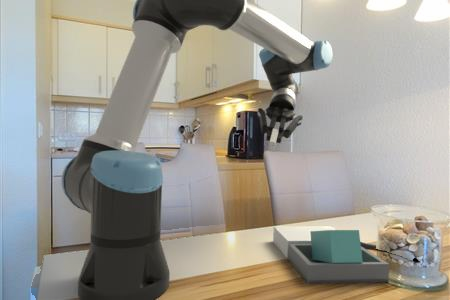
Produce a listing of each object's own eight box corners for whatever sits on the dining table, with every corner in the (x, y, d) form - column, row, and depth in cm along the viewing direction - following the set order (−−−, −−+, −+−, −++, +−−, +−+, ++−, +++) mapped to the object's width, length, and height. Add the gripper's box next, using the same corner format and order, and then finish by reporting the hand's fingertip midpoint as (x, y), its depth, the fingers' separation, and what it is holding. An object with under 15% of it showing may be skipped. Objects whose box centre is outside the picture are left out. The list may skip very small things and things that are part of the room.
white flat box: (287, 258, 71) (287, 240, 71) (273, 241, 83) (273, 226, 83) (354, 257, 73) (355, 240, 73) (331, 241, 85) (332, 226, 85)
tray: (307, 283, 59) (308, 265, 59) (287, 259, 71) (288, 243, 71) (388, 282, 61) (389, 263, 61) (355, 258, 73) (356, 243, 73)
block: (312, 259, 70) (332, 262, 60) (310, 231, 71) (329, 230, 62) (338, 259, 70) (362, 262, 61) (335, 231, 72) (358, 230, 62)
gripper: (301, 119, 97) (295, 164, 79) (259, 112, 100) (244, 153, 81) (306, 97, 93) (301, 138, 74) (262, 90, 95) (247, 128, 76)
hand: (271, 146), depth 78 cm, fingers closed
